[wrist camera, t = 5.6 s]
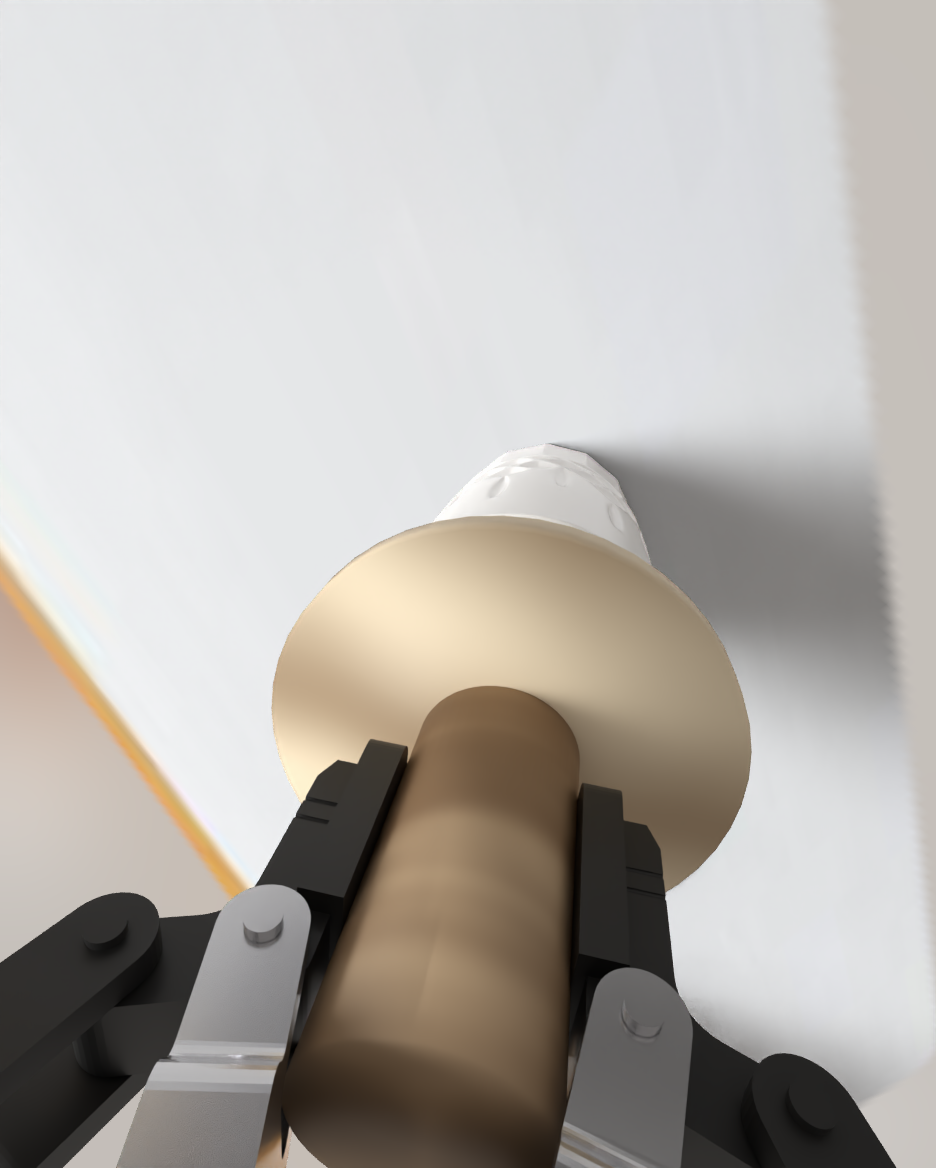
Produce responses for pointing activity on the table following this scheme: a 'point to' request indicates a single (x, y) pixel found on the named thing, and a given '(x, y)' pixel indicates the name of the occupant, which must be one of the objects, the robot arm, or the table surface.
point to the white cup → (552, 494)
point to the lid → (488, 817)
